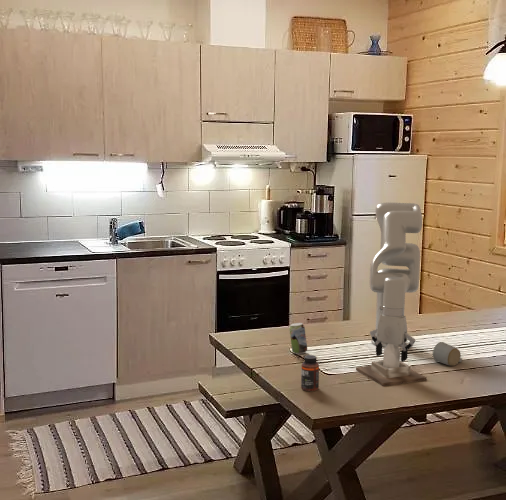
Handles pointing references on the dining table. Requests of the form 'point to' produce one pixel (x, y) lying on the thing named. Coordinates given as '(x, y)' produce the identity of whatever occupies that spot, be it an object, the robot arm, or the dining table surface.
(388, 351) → the roll
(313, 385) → the supplement bottle
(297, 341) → the beverage can
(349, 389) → the dining table surface
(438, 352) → the ceramic mug
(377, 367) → the stand
